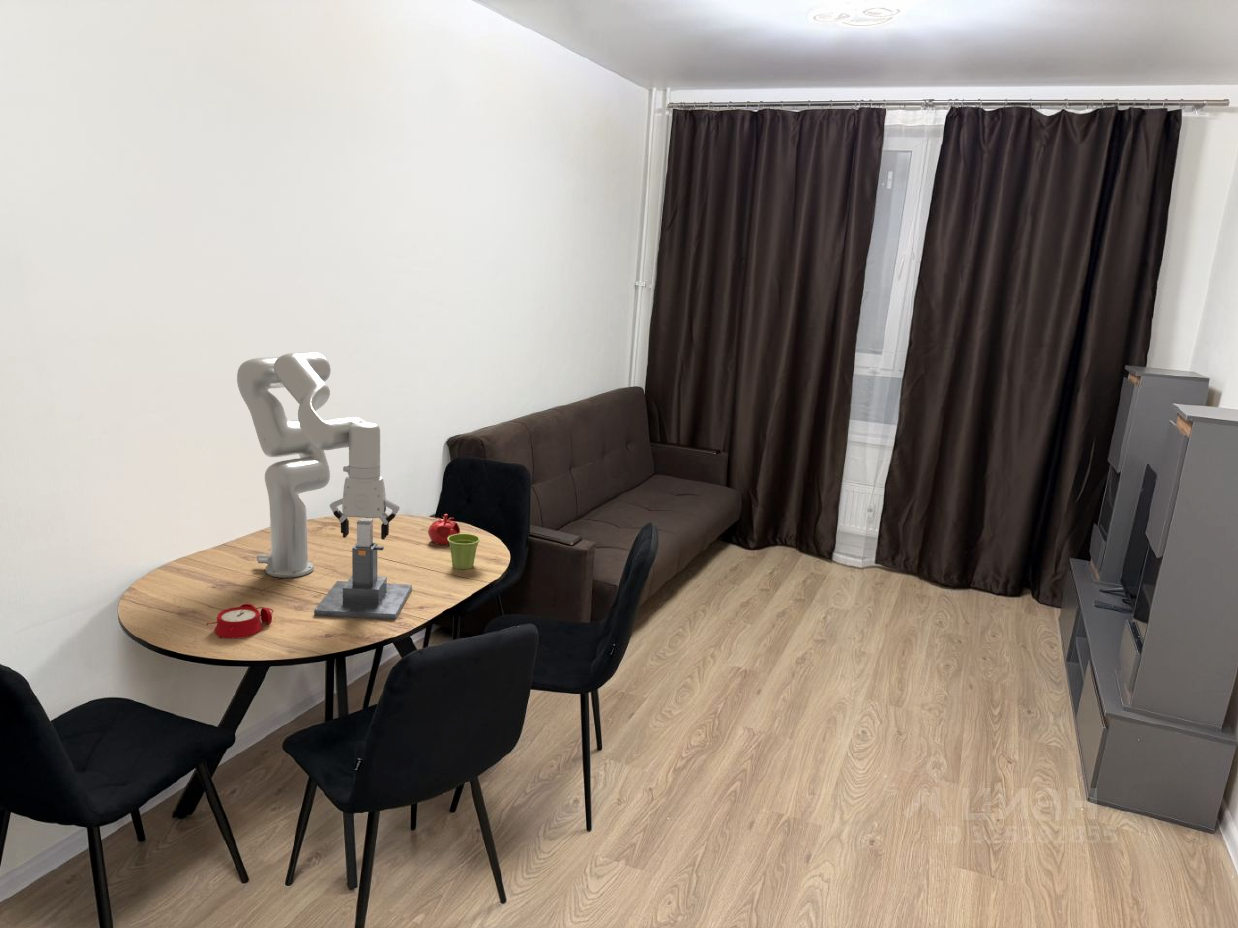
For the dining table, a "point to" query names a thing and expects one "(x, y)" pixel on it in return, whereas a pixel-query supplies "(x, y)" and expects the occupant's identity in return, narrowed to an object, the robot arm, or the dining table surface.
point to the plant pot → (463, 550)
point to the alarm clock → (241, 621)
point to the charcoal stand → (364, 591)
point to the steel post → (364, 533)
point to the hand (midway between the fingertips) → (364, 536)
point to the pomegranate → (443, 530)
